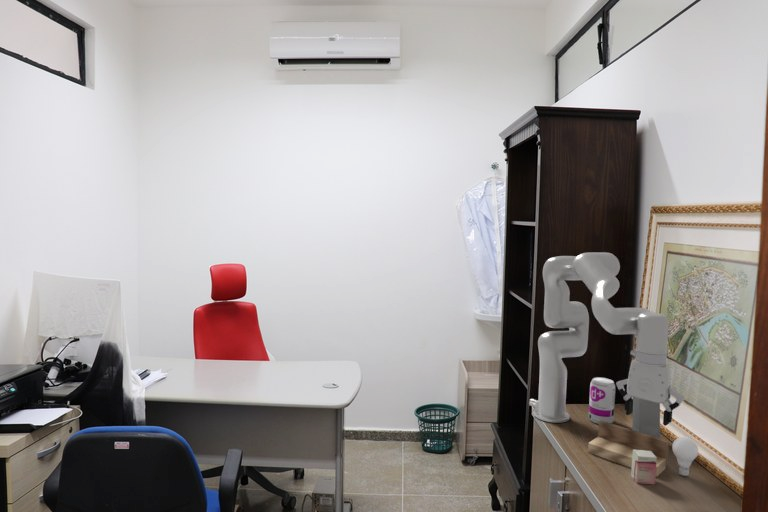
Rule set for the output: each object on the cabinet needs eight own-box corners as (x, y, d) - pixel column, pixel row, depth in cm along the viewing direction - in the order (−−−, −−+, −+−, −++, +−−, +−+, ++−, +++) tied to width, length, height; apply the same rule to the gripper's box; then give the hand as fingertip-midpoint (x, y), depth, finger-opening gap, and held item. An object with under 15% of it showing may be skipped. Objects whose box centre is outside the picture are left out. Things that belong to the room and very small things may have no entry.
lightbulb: (666, 469, 148) (668, 433, 148) (688, 470, 148) (690, 433, 147) (677, 480, 142) (680, 442, 141) (701, 481, 142) (703, 443, 141)
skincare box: (660, 448, 162) (663, 400, 161) (636, 445, 164) (639, 398, 163) (652, 437, 171) (655, 391, 169) (629, 435, 172) (632, 389, 171)
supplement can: (602, 427, 178) (604, 385, 177) (583, 418, 185) (585, 378, 184) (618, 423, 182) (620, 382, 181) (599, 415, 189) (601, 375, 188)
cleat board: (587, 452, 159) (589, 427, 158) (599, 444, 164) (600, 420, 164) (656, 476, 144) (658, 449, 144) (667, 467, 150) (668, 440, 149)
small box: (636, 483, 140) (638, 456, 140) (630, 475, 145) (632, 448, 144) (655, 485, 140) (657, 457, 139) (649, 477, 144) (651, 450, 143)
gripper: (613, 353, 143) (610, 413, 144) (681, 367, 131) (677, 432, 132) (623, 349, 148) (620, 406, 149) (690, 362, 136) (686, 424, 137)
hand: (647, 418), depth 141 cm, fingers open, 9 cm apart
